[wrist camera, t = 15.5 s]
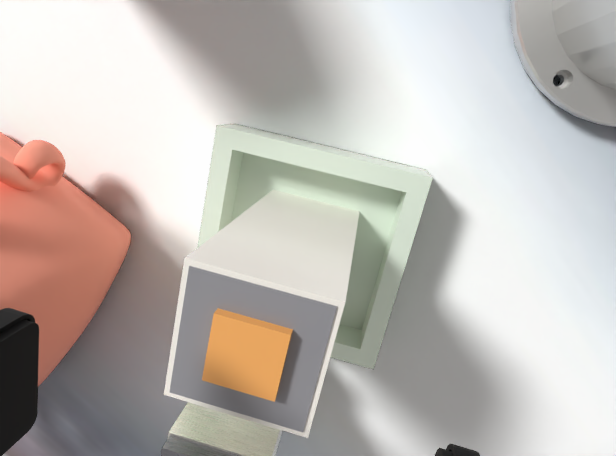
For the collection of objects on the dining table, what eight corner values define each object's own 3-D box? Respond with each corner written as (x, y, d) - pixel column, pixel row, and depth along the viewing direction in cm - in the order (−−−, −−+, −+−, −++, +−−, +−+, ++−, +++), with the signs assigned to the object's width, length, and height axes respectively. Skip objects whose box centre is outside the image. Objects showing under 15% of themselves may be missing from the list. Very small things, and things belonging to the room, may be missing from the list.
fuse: (359, 211, 24) (344, 308, 12) (337, 291, 26) (306, 447, 14) (273, 189, 25) (178, 262, 13) (256, 269, 26) (158, 402, 14)
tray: (426, 169, 24) (432, 177, 21) (373, 342, 27) (373, 369, 24) (235, 123, 25) (216, 125, 22) (205, 295, 28) (186, 316, 25)
